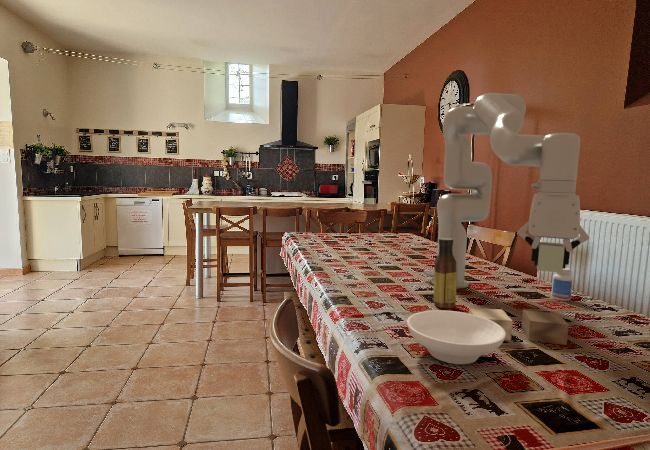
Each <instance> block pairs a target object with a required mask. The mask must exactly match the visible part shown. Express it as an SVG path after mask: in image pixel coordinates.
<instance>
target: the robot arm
mask: <svg viewBox="0 0 650 450" xmlns="http://www.w3.org/2000/svg"><path fill="white" fill-rule="evenodd" d="M526 105H527V104H526V102H525V100H524V98H523V97H521V96H520V95H518V94H515V93H501V92H500V93H499V92H488V93H484V94H482V95H479V96H478V97H477V98H476V100H474V103H473V106H456V107H453V108H451V109H449V110H448V111H447V112H446V113H445V115H444V119H443V122H442V136H443V139H444V140H443V141H444V147H445V150H444V163H443V185H444V186H445V188H447V189H450V190H456V191H457V190H458V191H459V190H460V191H461V190H463V191H471V193H447V194H443V195H442V196H440V197H439V198H438V201H437V203H436V212H437V222H438V224H437V225H438V229H437V230H438V231H437V234H438V235H437V251H436V257H437V256H438V254H439V238H452V239H453V247H452V252H453V256H454V258H455V260H456V271H457V276H456V290H459V289H465V288H468V287H469V286H470V285H469V281H468V280H465V274H466V273H465V272H466V257H467V256H466V255H467V242H468V241H467V240H468V234H467V231H466V229H465V227H464V226H463V224H462V223H464V222H465V223H466V222H482V221H484V220H486V219H487V218H488V216H489V213H490V208H491V200H492V198H491V197H492V189H493V188H492V186H493V173H492V170H491V167H490V166H489V165H488V163H486V162H480V161H472V153H473V152H472V150H473V148H472V144H471V143H470V140H469V139H468V138H467V136H466V135H478V136H479V135H480V136H489V143H490V148H491V150H492V152H493V153H494V154H495V156H496V157H498V158H499V159H500V160H501V161H502V162H503V163H504V164H507V165H509V166H512V167H513V166H514V167H535V168H536V167H539V174H538V175H539V177H538V181H536V182H531V186H530V187H531V189H534V190H537V193H534V194H533V198H532V199H531V200H532V201H531V206H530V210H529V218H528V221H527V222H526V223H525V224H524V225H523V226H522V227H520V229H519V230H517V235H519V237H521V239H523V240H524V241H525V242H526V243H527V244H528V245H529V246H530V247H531V248H532V249H531V257H530V260H531V262H533V264H534V266H535V267H537V265H538V256H539V248H538V247H539V246H538V244H539V242H541V240H542V238H547V239H558V240H559V239H560V240H562V242H563V245H564V247H565V249H564V259H563V269H565V268H566V266H569V264H570V254H571V252H572V251H573V250H575V248H577V247H578V246H579V245H581V244H583V243H585V242H586V241H589V239H590V236H589V235H588V233H587V232H586V231H585V230H584V228H583V227H582V226H581V225H580V224H581V200H580V195H577V194H576V189H577V187H576V186H577V180H578V167H579V161H580V160H579V159H580V149H581V148H580V147H581V137H580V136H579V134H577V133H575V132H574V133H573V132H558V133H557V132H555V133H548V134H546V135H540V134H525V133H524V134H523V133H522V134H520V132H521V131H522V129H523V127H524V124H525V118H524V117H525V115H526V113H527V106H526ZM527 231H528V234H527V233H526V232H527ZM530 235H531V236H532V237H533V238H532V237H531V236H530ZM571 240H572V241H571ZM434 270H435V269H433V270H429V269H424V270H423V275H424V276H426V277H432V278H431V279H430V283H431V284H432V285H434Z"/></svg>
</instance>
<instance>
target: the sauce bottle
mask: <svg viewBox="0 0 650 450" xmlns="http://www.w3.org/2000/svg"><path fill="white" fill-rule="evenodd" d="M452 247H453V239H452V238H439V254H438V256H437V255H436V258H435V259H434V269H433V270H434V284H433V305H434V306H435V307H436V308H440V309H447V310H449V309H453V308H455V307H456V302H457V289H456V276H457V271H456V260H455V258H454V256H453V252H452Z"/></svg>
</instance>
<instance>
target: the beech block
mask: <svg viewBox="0 0 650 450" xmlns="http://www.w3.org/2000/svg"><path fill="white" fill-rule="evenodd" d="M468 314H473V315H477V316H480V317H483V318H486V319H488V320H491V321H493V322H495V323H497V324H498V325H499V326H501V327H502V328H503V329H504V330H505V333H506V335H505V339H504V341H510V340H511V341H512V330H513V329H512V328H513V320H512V319H511V318H510V316H508V314H507V313H506V312H505V311H504V310H503V309H501V308H500V309H499V308H482V307H468Z"/></svg>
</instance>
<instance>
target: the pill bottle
mask: <svg viewBox="0 0 650 450" xmlns="http://www.w3.org/2000/svg"><path fill="white" fill-rule="evenodd" d="M571 272H572V270H571V268H569V267H565V269H562V273H558V272H555V273H554V274H553V275H552V283H551V293H550V296H551V299H553V300H557V301H561V302H562V301H564V302H567V301H570V300H571V297H572V289H573V276H572V275H570V274H571Z"/></svg>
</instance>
